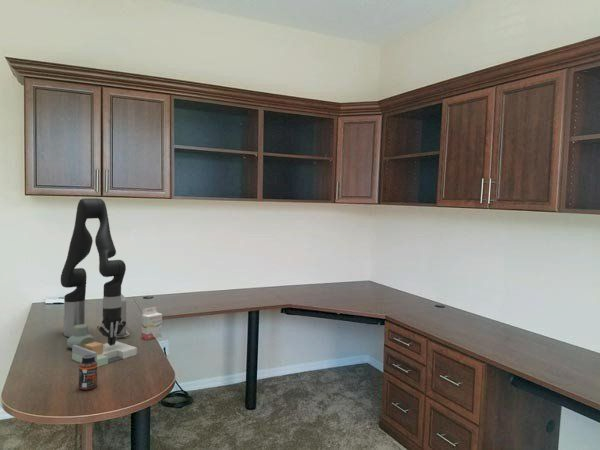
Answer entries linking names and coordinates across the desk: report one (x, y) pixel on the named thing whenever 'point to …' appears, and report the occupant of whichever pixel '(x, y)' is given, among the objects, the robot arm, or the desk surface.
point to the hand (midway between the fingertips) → (111, 344)
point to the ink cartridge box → (151, 324)
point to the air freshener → (80, 336)
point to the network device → (123, 317)
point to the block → (95, 347)
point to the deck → (105, 353)
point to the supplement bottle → (88, 373)
